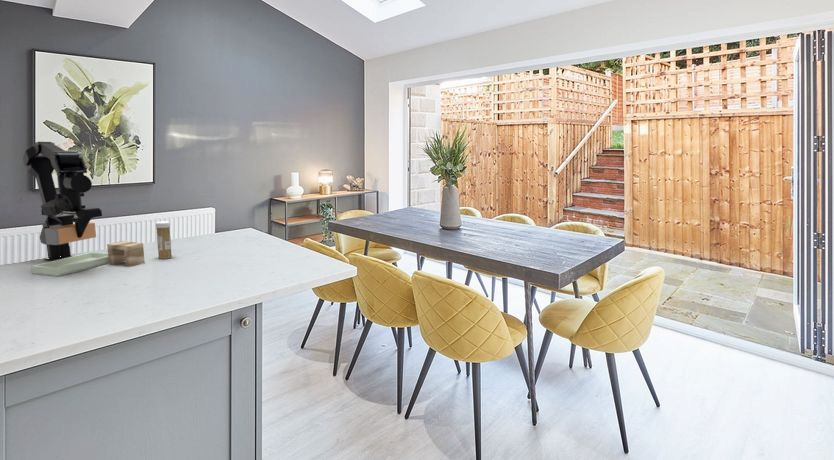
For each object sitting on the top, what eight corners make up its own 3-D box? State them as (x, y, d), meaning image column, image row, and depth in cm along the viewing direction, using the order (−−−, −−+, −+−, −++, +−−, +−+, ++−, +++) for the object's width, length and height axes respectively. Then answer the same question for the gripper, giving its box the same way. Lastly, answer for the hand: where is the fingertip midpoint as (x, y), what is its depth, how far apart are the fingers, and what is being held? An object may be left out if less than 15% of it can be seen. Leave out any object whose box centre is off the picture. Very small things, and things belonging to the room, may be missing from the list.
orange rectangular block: (46, 244, 147) (44, 228, 146) (86, 236, 160) (85, 222, 159) (56, 245, 146) (54, 229, 145) (96, 237, 159) (94, 222, 159)
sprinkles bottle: (172, 258, 170) (170, 222, 168) (158, 259, 168) (156, 223, 165) (171, 255, 174) (168, 220, 172) (157, 257, 172) (154, 221, 169)
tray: (31, 273, 146) (30, 265, 146) (93, 258, 167) (92, 251, 167) (59, 276, 144) (58, 269, 144) (118, 260, 165) (117, 254, 164)
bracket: (108, 264, 160) (107, 244, 159) (123, 260, 166) (121, 241, 164) (130, 266, 158) (128, 246, 157) (144, 262, 164) (143, 243, 162)
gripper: (21, 190, 145) (27, 239, 148) (68, 194, 141) (74, 244, 144) (56, 188, 156) (61, 233, 159) (101, 191, 152) (105, 237, 155)
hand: (74, 237), depth 154 cm, fingers closed on orange rectangular block, 4 cm apart
